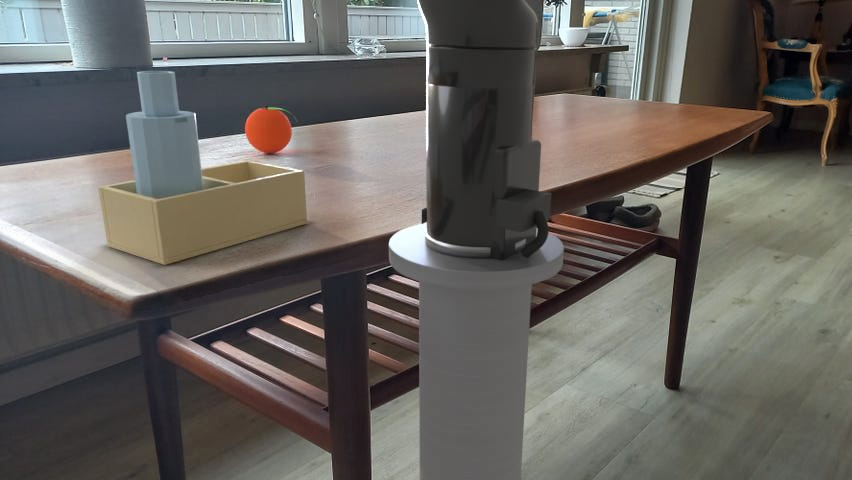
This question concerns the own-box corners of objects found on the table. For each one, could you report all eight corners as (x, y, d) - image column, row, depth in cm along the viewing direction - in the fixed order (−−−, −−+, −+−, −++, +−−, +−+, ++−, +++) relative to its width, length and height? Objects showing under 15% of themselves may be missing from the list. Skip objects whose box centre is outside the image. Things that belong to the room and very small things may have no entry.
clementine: (294, 147, 112) (291, 102, 109) (304, 155, 106) (302, 108, 103) (243, 150, 108) (239, 104, 106) (251, 158, 102) (246, 109, 100)
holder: (307, 223, 71) (304, 170, 69) (164, 265, 58) (155, 201, 56) (252, 210, 75) (248, 160, 73) (107, 246, 62) (97, 186, 60)
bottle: (221, 234, 64) (204, 72, 59) (167, 249, 59) (144, 75, 55) (185, 224, 67) (166, 69, 62) (131, 237, 62) (106, 71, 57)
